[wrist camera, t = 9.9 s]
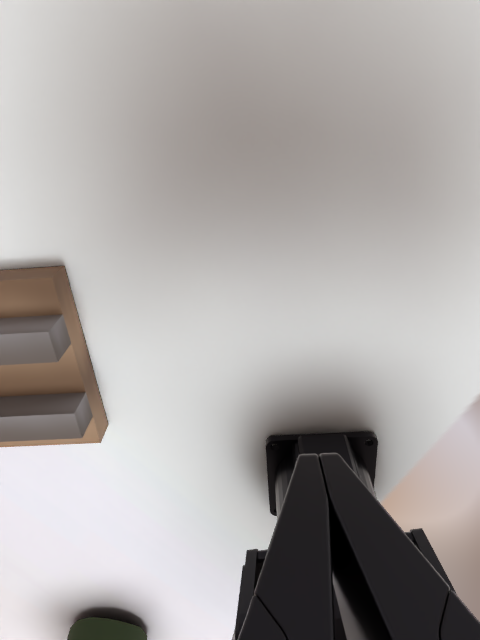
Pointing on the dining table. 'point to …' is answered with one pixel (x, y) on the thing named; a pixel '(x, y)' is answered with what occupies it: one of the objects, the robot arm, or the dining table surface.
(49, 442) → the fader board
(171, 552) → the dining table surface
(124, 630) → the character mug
